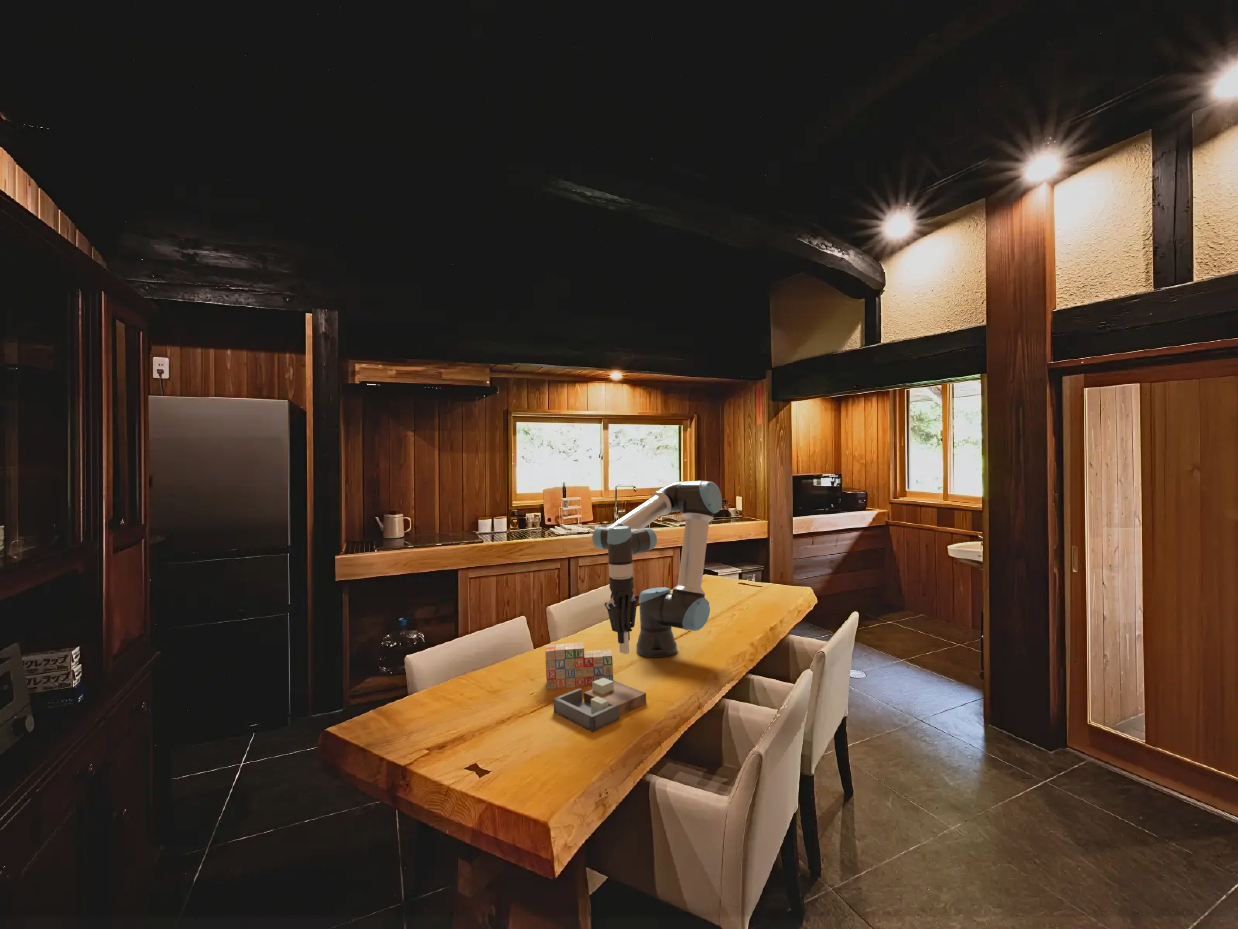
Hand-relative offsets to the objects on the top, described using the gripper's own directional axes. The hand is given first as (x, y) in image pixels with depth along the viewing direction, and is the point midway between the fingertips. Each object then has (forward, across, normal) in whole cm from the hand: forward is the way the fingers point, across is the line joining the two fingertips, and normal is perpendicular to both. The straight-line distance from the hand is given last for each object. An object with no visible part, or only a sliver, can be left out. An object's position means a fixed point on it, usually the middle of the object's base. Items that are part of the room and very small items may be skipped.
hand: (624, 652), depth 169 cm
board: (+12, +8, +4) cm, 15 cm away
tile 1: (+9, +9, 0) cm, 13 cm away
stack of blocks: (+12, +5, -16) cm, 21 cm away
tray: (+12, +19, +4) cm, 23 cm away
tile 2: (+9, +16, +8) cm, 20 cm away
